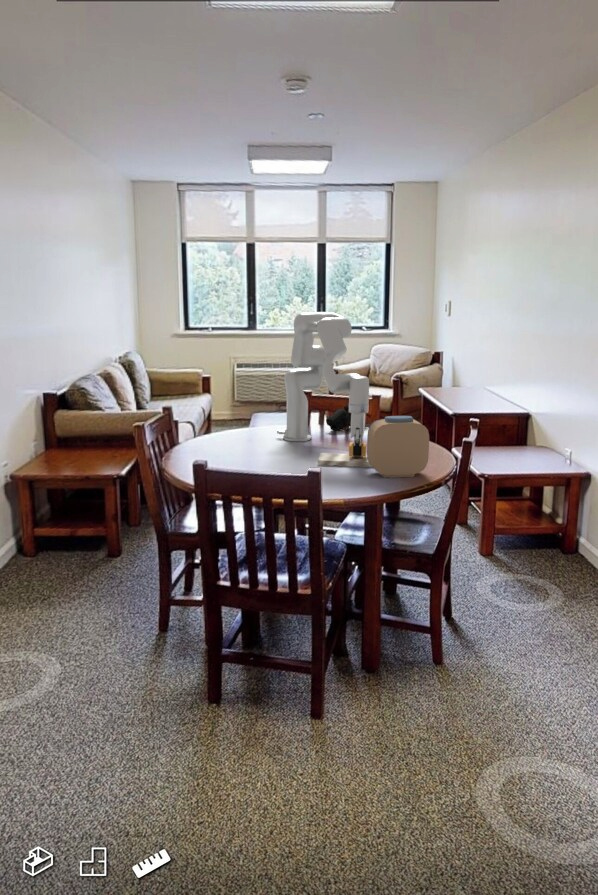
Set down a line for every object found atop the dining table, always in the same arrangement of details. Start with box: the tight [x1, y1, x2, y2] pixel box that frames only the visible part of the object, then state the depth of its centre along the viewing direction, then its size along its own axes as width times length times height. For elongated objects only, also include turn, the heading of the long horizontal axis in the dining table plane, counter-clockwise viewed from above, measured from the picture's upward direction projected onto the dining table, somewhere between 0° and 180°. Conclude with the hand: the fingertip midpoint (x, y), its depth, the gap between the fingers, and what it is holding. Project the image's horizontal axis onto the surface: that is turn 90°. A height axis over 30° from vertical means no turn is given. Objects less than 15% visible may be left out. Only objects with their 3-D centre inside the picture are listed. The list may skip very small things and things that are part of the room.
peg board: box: [317, 452, 373, 468], centre depth 268 cm, size 22×12×8 cm, turn 83°
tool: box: [325, 403, 367, 432], centre depth 331 cm, size 8×23×15 cm, turn 133°
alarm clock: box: [366, 415, 430, 478], centre depth 250 cm, size 21×10×22 cm, turn 98°
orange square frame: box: [348, 441, 367, 457], centre depth 268 cm, size 6×6×4 cm
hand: (357, 453), depth 268 cm, fingers closed on orange square frame, 6 cm apart
